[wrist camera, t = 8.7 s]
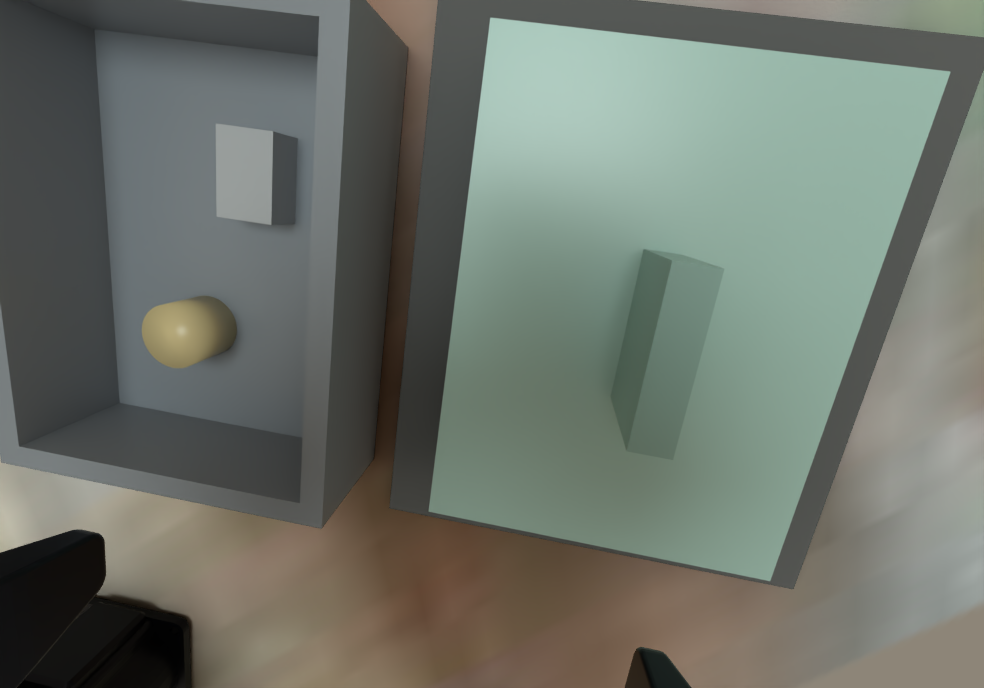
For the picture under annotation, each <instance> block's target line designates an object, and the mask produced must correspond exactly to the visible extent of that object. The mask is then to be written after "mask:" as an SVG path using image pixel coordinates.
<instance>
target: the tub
mask: <svg viewBox="0 0 984 688" xmlns="http://www.w3.org/2000/svg"><path fill="white" fill-rule="evenodd" d="M407 57H408V47H407V46H406V45H405V44H404V42H403V41H402V40H401V39H400V38H399V37H398V36H397V35H396V34H395V32H394V31H393V30H392V29H391V28H390V27H389V26H388V25H387V23H386V22H385V21H384V20H383V19H382V18H381V17H380V16H379V15H378V13H377V12H376V11H375V10H374V9H373V8H372V7H371V6H370V4H369V3H368V2H367V1H366V0H0V456H1V462H2V463H6V464H11V465H16V466H21V467H26V468H31V469H35V470H40V471H45V472H50V473H55V474H60V475H64V476H69V477H74V478H79V479H84V480H89V481H93V482H98V483H103V484H108V485H113V486H118V487H122V488H127V489H132V490H137V491H142V492H147V493H151V494H156V495H161V496H166V497H171V498H176V499H180V500H185V501H190V502H195V503H200V504H205V505H209V506H214V507H219V508H224V509H229V510H234V511H238V512H243V513H248V514H253V515H258V516H263V517H267V518H272V519H277V520H282V521H287V522H292V523H296V524H301V525H306V526H311V527H316V528H321V529H322V528H323V526H324V525H325V524H326V522H327V521H328V519H329V518H330V517H331V515H332V514H333V513H334V511H335V510H336V509H337V507H338V506H339V505H340V503H341V502H342V501H343V499H344V498H345V497H346V495H347V494H348V493H349V491H350V490H351V489H352V487H353V486H354V485H355V483H356V482H357V481H358V479H359V478H360V477H361V475H362V474H363V473H364V471H365V470H366V469H367V467H368V466H369V465H370V463H371V462H372V460H373V459H374V452H375V440H376V428H377V416H378V404H379V392H380V380H381V368H382V356H383V344H384V332H385V320H386V308H387V296H388V284H389V272H390V260H391V248H392V236H393V224H394V212H395V200H396V188H397V176H398V164H399V153H400V141H401V129H402V117H403V105H404V93H405V81H406V69H407Z"/></svg>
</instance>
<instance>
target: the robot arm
mask: <svg viewBox="0 0 984 688" xmlns="http://www.w3.org/2000/svg"><path fill="white" fill-rule="evenodd" d="M105 577H106V561H105V542H104V538H103V537H102V535H100V534H99V533H95V532H90V531H85V530H72V531H68V532H65V533H62V534H59V535H56V536H52V537H49V538H46V539H43V540H40V541H36V542H33V543H30V544H27V545H24V546H20V547H17V548H14V549H11V550H8V551H5V552H1V553H0V688H191V668H190V636H189V624H188V622H187V621H186V620H185V619H184V618H181V617H178V616H174V615H170V614H165V613H161V612H156V611H152V610H148V609H143V608H139V607H134V606H130V605H126V604H121V603H117V602H113V601H108V600H104V599H99V598H95V597H94V596H95V595H96V594H97V593H98V591H99V590H100V588H101V587H102V585H103V583H104V580H105ZM625 688H691V687H690V685H689V684H688V683H687V681H686V680H685V679H684V677H683V676H682V675H681V673H680V672H679V671H678V670H677V668H676V667H675V666H674V664H673V663H672V662H671V660H670V659H669V658H668V657H667V655H666V654H664V653H663V652H661V651H658V650H653V649H648V648H644V647H639V648H637V649H636V651H635V653H634V656H633V659H632V663H631V667H630V670H629V674H628V677H627V681H626V685H625Z"/></svg>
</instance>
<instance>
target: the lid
mask: <svg viewBox="0 0 984 688" xmlns="http://www.w3.org/2000/svg"><path fill="white" fill-rule="evenodd" d="M949 75H950V71H941V70H933V69H924V68H916V67H907V66H899V65H890V64H882V63H873V62H865V61H856V60H848V59H839V58H831V57H822V56H814V55H805V54H797V53H788V52H780V51H771V50H763V49H754V48H746V47H737V46H729V45H720V44H712V43H703V42H695V41H686V40H678V39H669V38H660V37H652V36H643V35H635V34H626V33H618V32H609V31H601V30H592V29H584V28H575V27H567V26H558V25H550V24H541V23H533V22H524V21H516V20H507V19H499V18H490V24H489V32H488V40H487V48H486V56H485V64H484V72H483V80H482V88H481V96H480V104H479V112H478V120H477V128H476V136H475V144H474V152H473V160H472V168H471V176H470V184H469V192H468V200H467V208H466V216H465V224H464V232H463V240H462V248H461V256H460V264H459V272H458V280H457V288H456V296H455V304H454V312H453V320H452V328H451V336H450V344H449V352H448V360H447V368H446V376H445V384H444V392H443V400H442V408H441V416H440V424H439V432H438V440H437V448H436V456H435V464H434V472H433V480H432V488H431V496H430V504H429V512H433V513H438V514H443V515H448V516H453V517H457V518H462V519H467V520H472V521H477V522H482V523H487V524H492V525H497V526H502V527H507V528H511V529H516V530H521V531H526V532H531V533H536V534H541V535H546V536H551V537H556V538H560V539H565V540H570V541H575V542H580V543H585V544H590V545H595V546H600V547H605V548H610V549H614V550H619V551H624V552H629V553H634V554H639V555H644V556H649V557H654V558H659V559H664V560H668V561H673V562H678V563H683V564H688V565H693V566H698V567H703V568H708V569H713V570H717V571H722V572H727V573H732V574H737V575H742V576H747V577H752V578H757V579H762V580H767V581H770V580H771V577H772V575H773V572H774V569H775V566H776V563H777V560H778V558H779V555H780V552H781V549H782V546H783V544H784V541H785V538H786V535H787V532H788V529H789V527H790V524H791V521H792V518H793V515H794V513H795V510H796V507H797V504H798V501H799V498H800V496H801V493H802V490H803V487H804V484H805V481H806V479H807V476H808V473H809V470H810V467H811V465H812V462H813V459H814V456H815V453H816V450H817V448H818V445H819V442H820V439H821V436H822V434H823V431H824V428H825V425H826V422H827V419H828V417H829V414H830V411H831V408H832V405H833V403H834V400H835V397H836V394H837V391H838V388H839V386H840V383H841V380H842V377H843V374H844V371H845V369H846V366H847V363H848V360H849V357H850V355H851V352H852V349H853V346H854V343H855V340H856V338H857V335H858V332H859V329H860V326H861V324H862V321H863V318H864V315H865V312H866V309H867V307H868V304H869V301H870V298H871V295H872V292H873V290H874V287H875V284H876V281H877V278H878V276H879V273H880V270H881V267H882V264H883V261H884V259H885V256H886V253H887V250H888V247H889V245H890V242H891V239H892V236H893V233H894V230H895V228H896V225H897V222H898V219H899V216H900V213H901V211H902V208H903V205H904V202H905V199H906V197H907V194H908V191H909V188H910V185H911V182H912V180H913V177H914V174H915V171H916V168H917V166H918V163H919V160H920V157H921V154H922V151H923V149H924V146H925V143H926V140H927V137H928V135H929V132H930V129H931V126H932V123H933V120H934V118H935V115H936V112H937V109H938V106H939V103H940V101H941V98H942V95H943V92H944V89H945V87H946V84H947V81H948V78H949Z"/></svg>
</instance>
